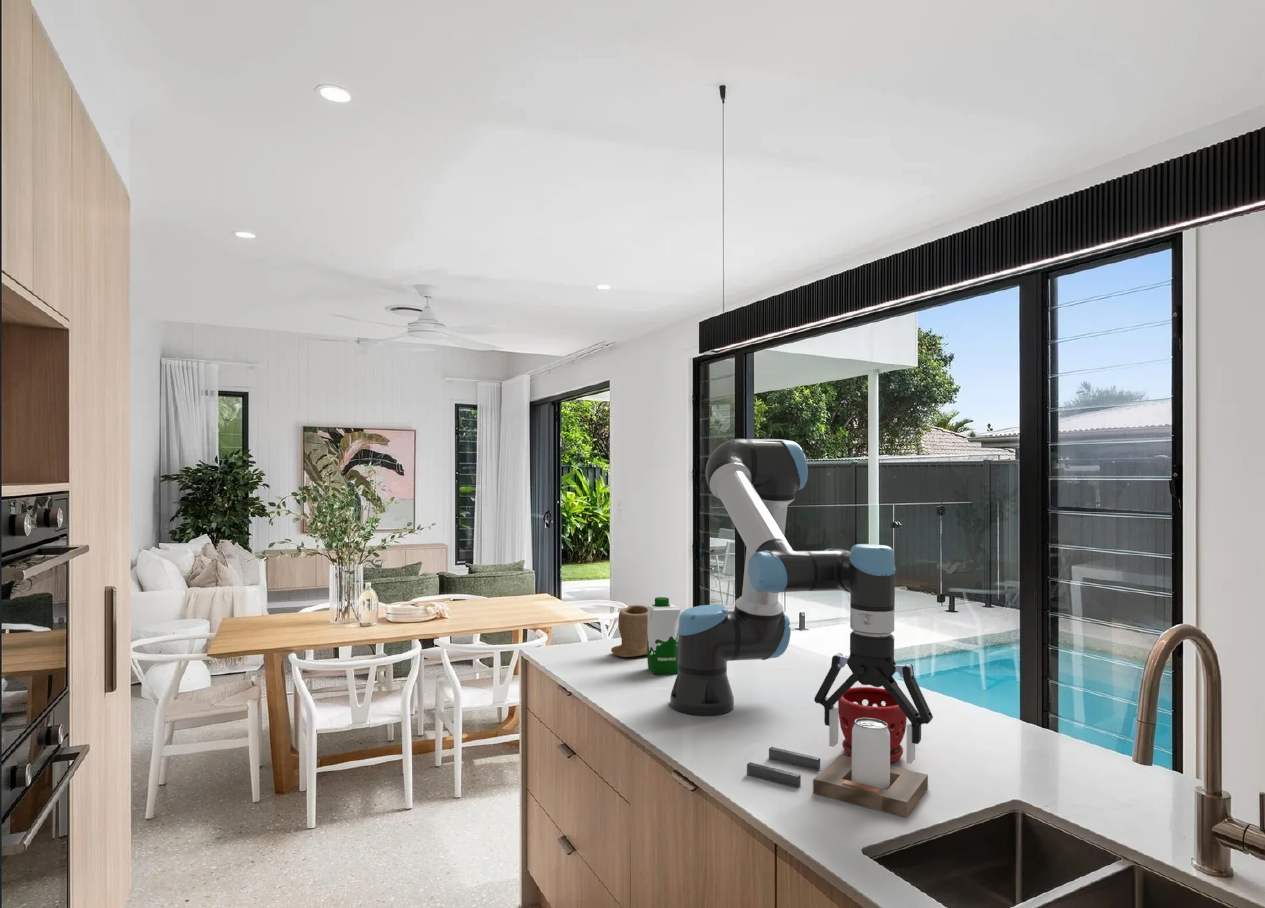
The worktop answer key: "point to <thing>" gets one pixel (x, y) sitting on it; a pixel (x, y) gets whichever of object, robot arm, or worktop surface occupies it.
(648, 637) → the milk carton
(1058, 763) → the worktop surface
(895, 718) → the plant pot
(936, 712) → the worktop surface
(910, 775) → the plate
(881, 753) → the can
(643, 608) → the brown boot
